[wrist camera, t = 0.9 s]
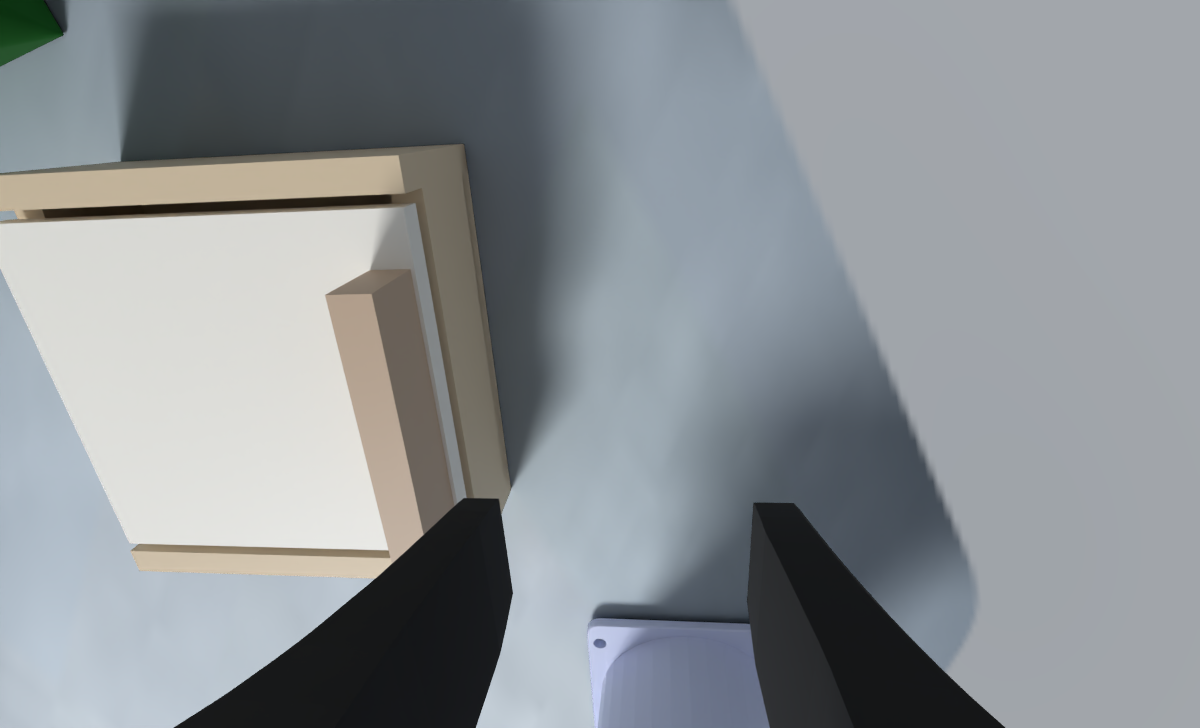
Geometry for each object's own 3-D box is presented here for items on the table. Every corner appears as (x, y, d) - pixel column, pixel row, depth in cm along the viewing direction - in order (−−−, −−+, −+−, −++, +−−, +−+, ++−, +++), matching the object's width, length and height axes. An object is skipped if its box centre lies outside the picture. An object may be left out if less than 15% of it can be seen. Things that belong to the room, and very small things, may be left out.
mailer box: (511, 489, 21) (474, 581, 17) (236, 485, 23) (139, 570, 18) (464, 143, 17) (398, 155, 13) (118, 161, 18) (-47, 177, 14)
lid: (473, 536, 18) (442, 606, 15) (148, 528, 19) (69, 592, 16) (415, 202, 14) (361, 223, 11) (9, 219, 15) (-122, 241, 12)
